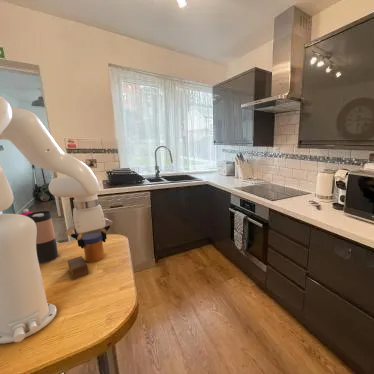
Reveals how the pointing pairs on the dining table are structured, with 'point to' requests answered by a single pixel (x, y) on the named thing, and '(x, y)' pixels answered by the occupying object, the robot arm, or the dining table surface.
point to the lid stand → (78, 267)
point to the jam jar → (94, 251)
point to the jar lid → (92, 238)
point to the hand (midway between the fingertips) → (93, 243)
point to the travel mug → (44, 236)
